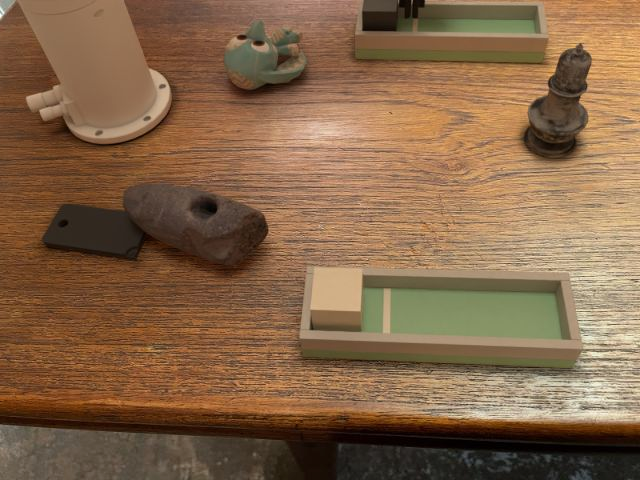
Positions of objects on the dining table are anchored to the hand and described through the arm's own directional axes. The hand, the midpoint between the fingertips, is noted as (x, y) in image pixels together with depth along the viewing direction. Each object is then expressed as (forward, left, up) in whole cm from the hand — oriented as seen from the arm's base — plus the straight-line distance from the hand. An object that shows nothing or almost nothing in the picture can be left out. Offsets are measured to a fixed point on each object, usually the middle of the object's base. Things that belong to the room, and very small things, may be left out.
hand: (411, 11), depth 72 cm
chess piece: (+6, -21, -4) cm, 23 cm away
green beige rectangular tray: (+4, -2, -4) cm, 6 cm away
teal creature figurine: (-13, +7, -2) cm, 14 cm away
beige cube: (-22, -33, -3) cm, 40 cm away
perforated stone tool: (-32, -19, -4) cm, 38 cm away
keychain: (-41, -14, -4) cm, 44 cm away
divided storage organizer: (-15, -36, -4) cm, 40 cm away
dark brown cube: (-3, +2, -3) cm, 4 cm away
